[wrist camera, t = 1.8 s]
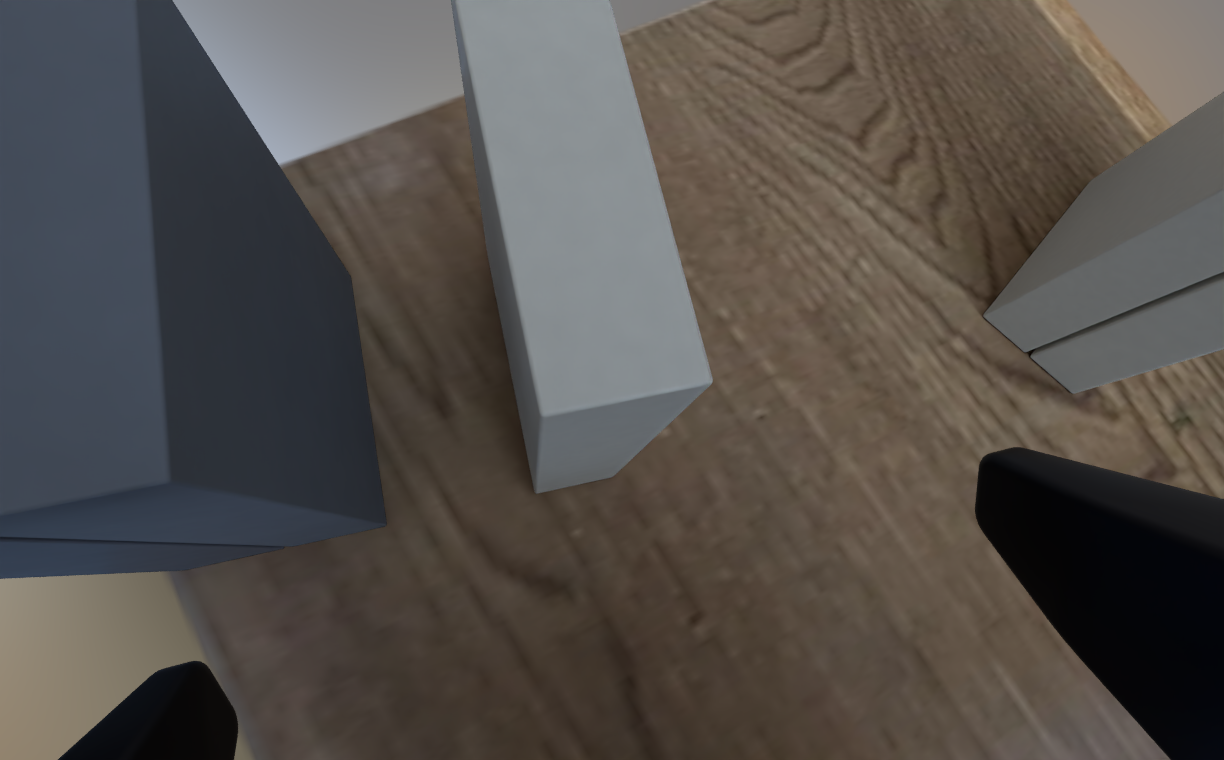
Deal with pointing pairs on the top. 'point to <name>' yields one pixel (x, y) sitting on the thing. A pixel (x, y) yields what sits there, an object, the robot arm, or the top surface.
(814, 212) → the top surface
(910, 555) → the top surface
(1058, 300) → the white books
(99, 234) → the grey books
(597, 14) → the white book
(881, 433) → the top surface
